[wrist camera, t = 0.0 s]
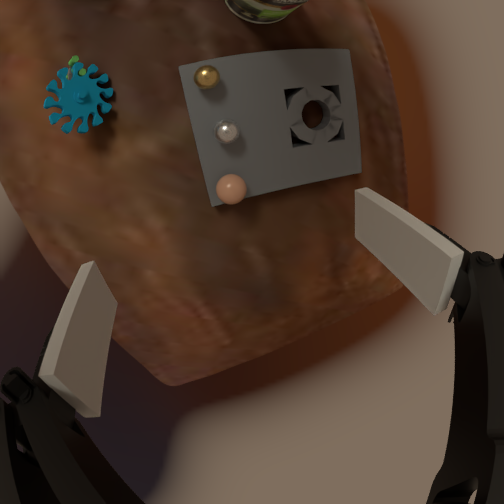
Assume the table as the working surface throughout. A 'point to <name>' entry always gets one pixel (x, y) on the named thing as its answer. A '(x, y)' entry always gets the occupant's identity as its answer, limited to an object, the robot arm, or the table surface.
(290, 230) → the table surface
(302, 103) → the plate
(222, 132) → the steel ball
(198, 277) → the table surface
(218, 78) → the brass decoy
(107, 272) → the table surface
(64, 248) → the table surface
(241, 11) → the coffee can
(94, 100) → the gear
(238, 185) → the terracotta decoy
